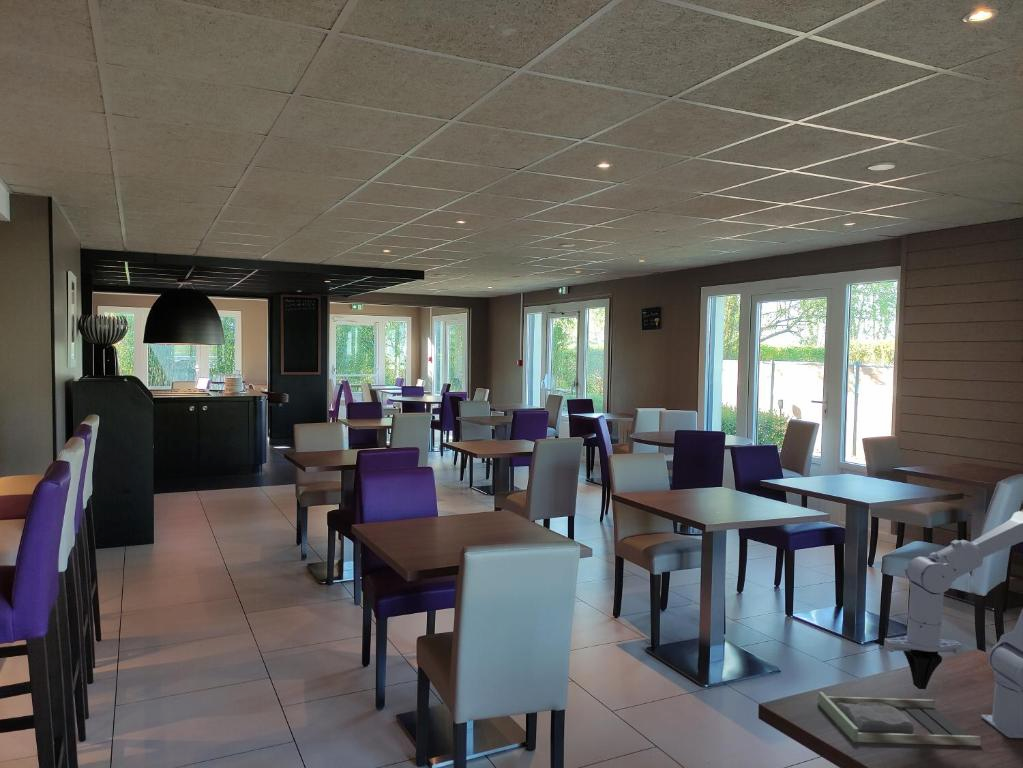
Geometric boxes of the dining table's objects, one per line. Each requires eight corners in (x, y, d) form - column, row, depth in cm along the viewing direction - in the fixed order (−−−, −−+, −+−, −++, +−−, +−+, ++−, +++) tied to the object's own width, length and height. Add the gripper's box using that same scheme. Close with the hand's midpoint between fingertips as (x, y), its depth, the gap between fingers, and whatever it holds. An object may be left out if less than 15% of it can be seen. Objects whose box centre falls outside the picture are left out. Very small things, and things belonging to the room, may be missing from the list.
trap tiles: (934, 709, 148) (934, 708, 148) (975, 742, 136) (975, 741, 136) (903, 708, 148) (903, 707, 148) (941, 741, 136) (941, 740, 136)
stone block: (829, 723, 144) (859, 740, 134) (829, 698, 145) (858, 713, 135) (884, 725, 146) (917, 742, 136) (883, 700, 146) (916, 715, 137)
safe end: (821, 703, 148) (822, 691, 148) (857, 741, 134) (858, 729, 134) (817, 703, 148) (818, 691, 148) (853, 741, 134) (854, 728, 134)
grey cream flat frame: (932, 707, 149) (933, 699, 149) (980, 745, 135) (981, 737, 135) (821, 703, 148) (822, 696, 148) (857, 741, 134) (858, 733, 134)
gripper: (947, 613, 145) (942, 678, 146) (877, 610, 144) (872, 676, 145) (970, 626, 138) (965, 695, 139) (897, 624, 137) (892, 693, 138)
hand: (919, 686), depth 141 cm, fingers closed
